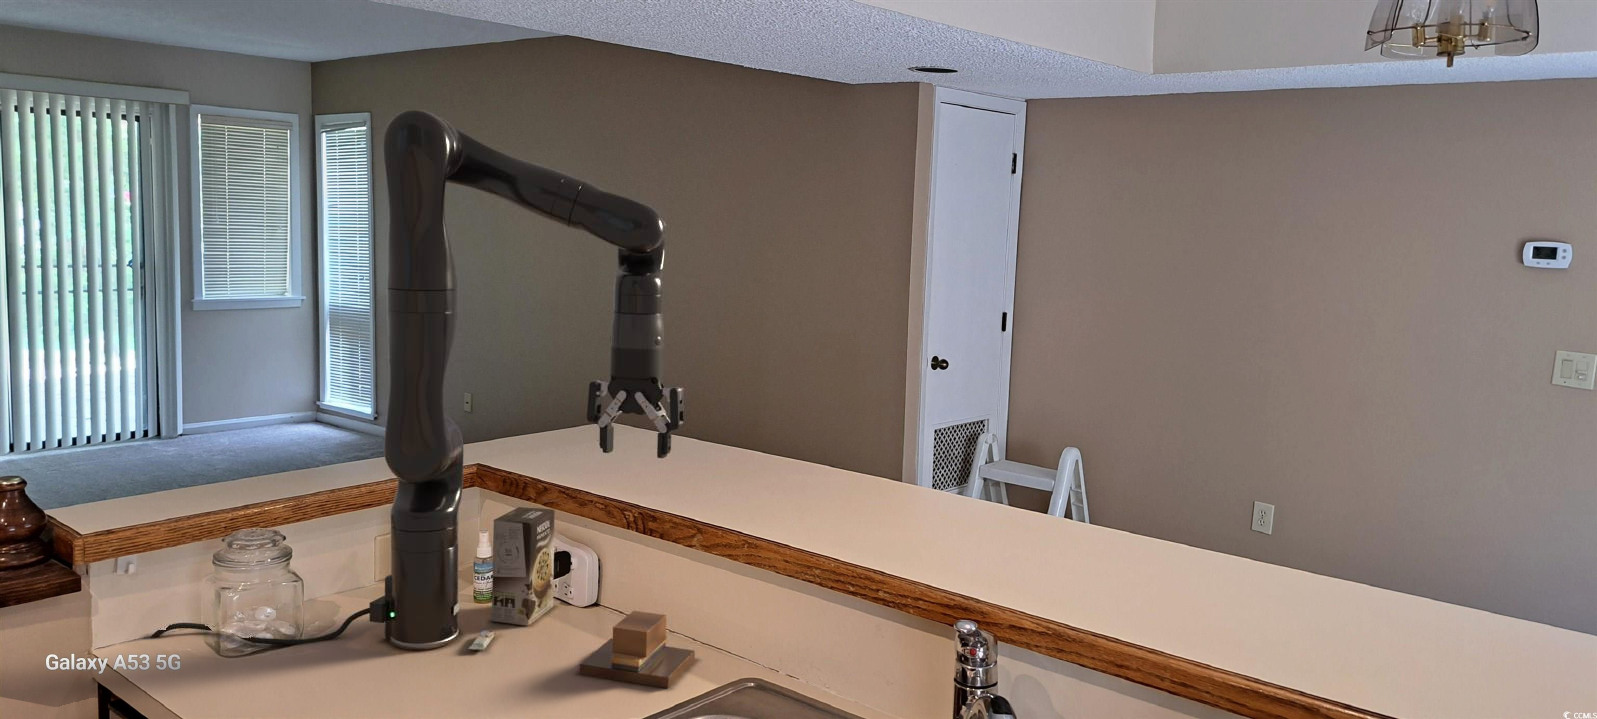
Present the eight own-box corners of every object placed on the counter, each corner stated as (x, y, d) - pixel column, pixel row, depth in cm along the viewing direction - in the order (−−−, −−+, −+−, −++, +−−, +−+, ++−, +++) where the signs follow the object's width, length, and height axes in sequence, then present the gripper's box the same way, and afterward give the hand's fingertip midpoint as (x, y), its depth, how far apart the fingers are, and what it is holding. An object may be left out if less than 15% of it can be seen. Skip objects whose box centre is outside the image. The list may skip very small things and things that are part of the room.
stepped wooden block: (637, 641, 154) (638, 606, 153) (669, 646, 153) (670, 611, 152) (607, 667, 144) (608, 630, 144) (641, 673, 143) (642, 635, 142)
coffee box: (529, 626, 162) (530, 523, 160) (490, 621, 163) (491, 519, 161) (554, 606, 171) (556, 508, 169) (517, 602, 172) (518, 504, 170)
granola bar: (484, 652, 151) (484, 645, 151) (468, 652, 151) (468, 645, 151) (497, 635, 158) (497, 628, 157) (481, 634, 158) (481, 627, 157)
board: (579, 673, 145) (579, 663, 145) (610, 647, 155) (611, 637, 155) (668, 688, 142) (668, 677, 142) (694, 660, 152) (695, 650, 152)
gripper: (693, 344, 155) (689, 454, 157) (603, 338, 158) (601, 445, 160) (673, 349, 147) (670, 464, 149) (580, 342, 151) (578, 455, 153)
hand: (634, 454), depth 155 cm, fingers open, 8 cm apart
